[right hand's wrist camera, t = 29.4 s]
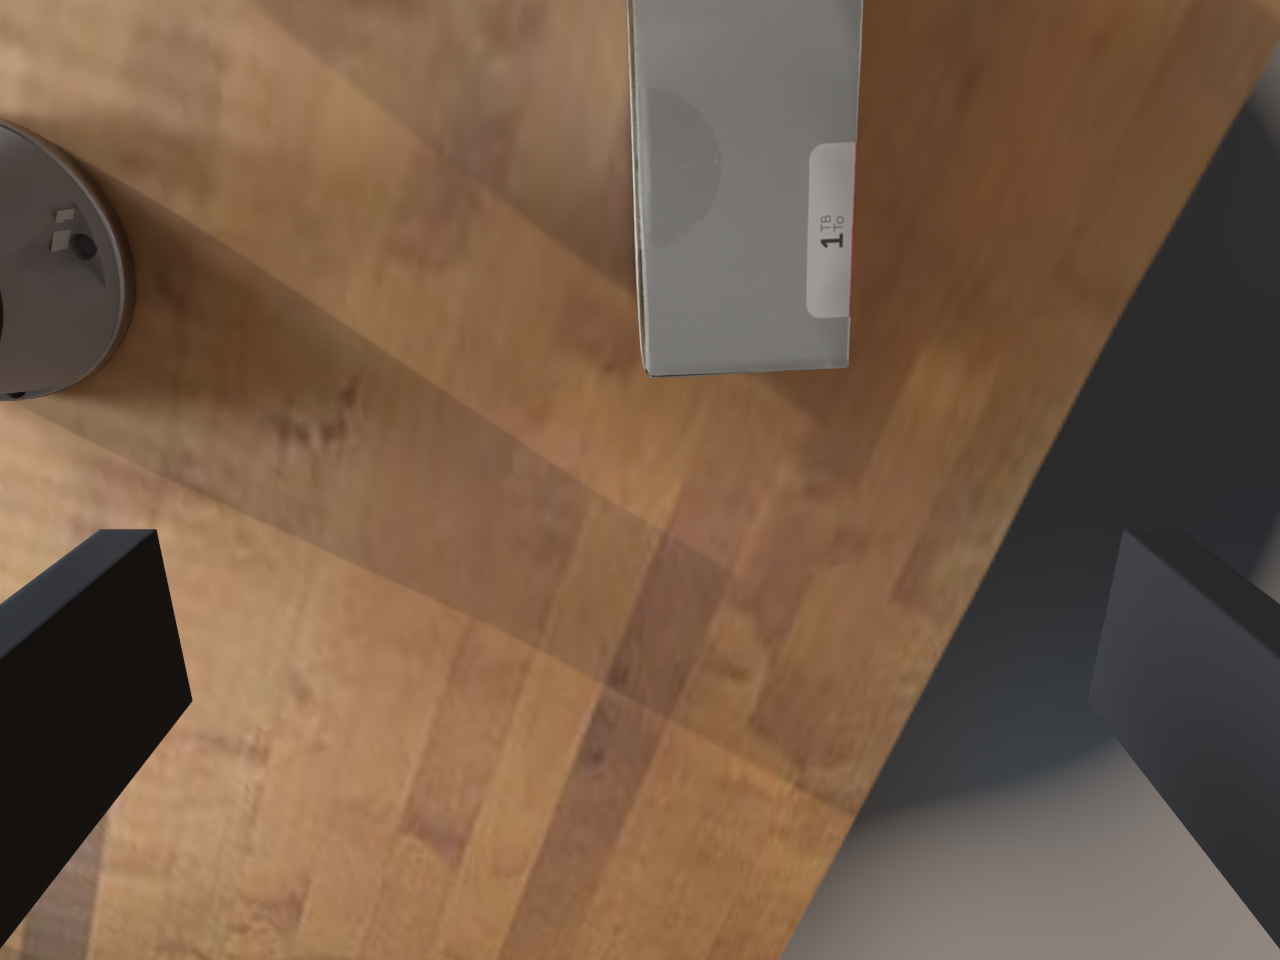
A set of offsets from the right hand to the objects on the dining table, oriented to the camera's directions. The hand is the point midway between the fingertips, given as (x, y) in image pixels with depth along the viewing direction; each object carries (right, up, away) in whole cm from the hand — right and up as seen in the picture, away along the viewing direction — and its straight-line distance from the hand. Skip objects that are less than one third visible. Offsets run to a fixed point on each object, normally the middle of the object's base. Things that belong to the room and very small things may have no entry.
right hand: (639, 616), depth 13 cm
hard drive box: (+3, +20, +36) cm, 41 cm away
